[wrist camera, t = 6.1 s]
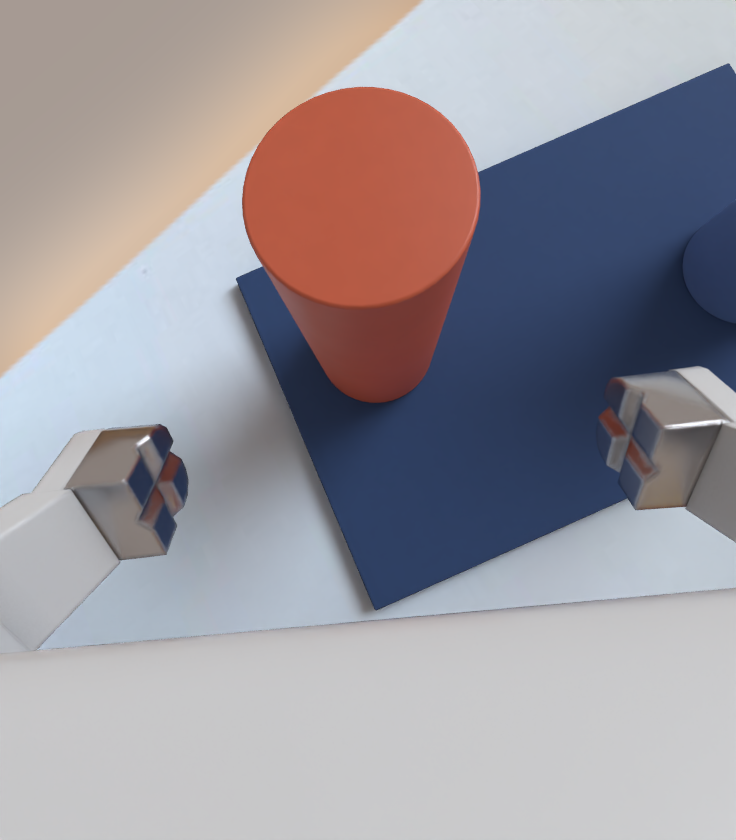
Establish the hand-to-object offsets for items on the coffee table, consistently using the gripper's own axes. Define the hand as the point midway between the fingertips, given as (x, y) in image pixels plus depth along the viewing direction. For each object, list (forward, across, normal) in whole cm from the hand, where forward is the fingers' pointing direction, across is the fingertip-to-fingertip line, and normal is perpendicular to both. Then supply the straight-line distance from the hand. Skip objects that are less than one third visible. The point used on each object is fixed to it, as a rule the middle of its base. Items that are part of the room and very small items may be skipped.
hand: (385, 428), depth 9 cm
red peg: (+9, 0, +4) cm, 10 cm away
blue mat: (+10, -7, +4) cm, 13 cm away
